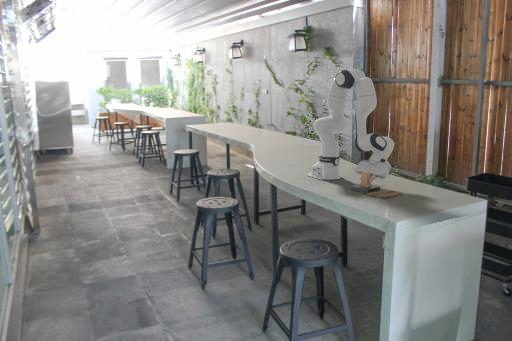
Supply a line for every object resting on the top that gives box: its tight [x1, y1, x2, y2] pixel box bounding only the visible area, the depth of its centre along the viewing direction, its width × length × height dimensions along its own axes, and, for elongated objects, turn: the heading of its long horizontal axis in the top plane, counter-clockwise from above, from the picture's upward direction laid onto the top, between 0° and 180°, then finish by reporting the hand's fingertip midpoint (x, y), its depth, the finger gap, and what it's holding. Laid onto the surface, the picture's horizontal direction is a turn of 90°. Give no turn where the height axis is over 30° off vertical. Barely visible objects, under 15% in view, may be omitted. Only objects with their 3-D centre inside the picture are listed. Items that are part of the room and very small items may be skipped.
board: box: [367, 188, 403, 200], centre depth 252 cm, size 11×16×1 cm
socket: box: [350, 183, 381, 195], centre depth 261 cm, size 11×11×2 cm
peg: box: [360, 172, 372, 188], centre depth 261 cm, size 4×4×10 cm
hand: (365, 181), depth 260 cm, fingers closed on peg, 4 cm apart
